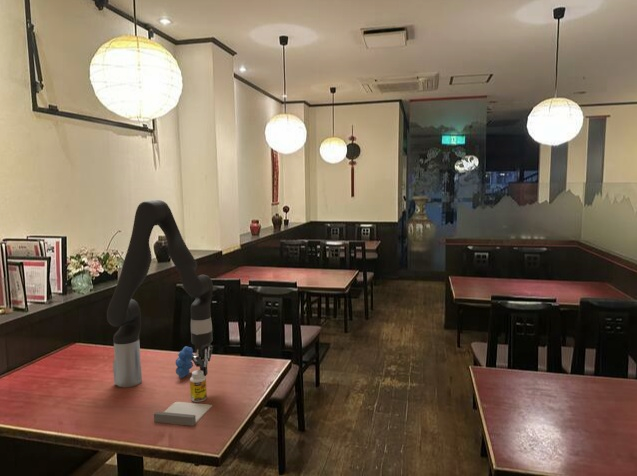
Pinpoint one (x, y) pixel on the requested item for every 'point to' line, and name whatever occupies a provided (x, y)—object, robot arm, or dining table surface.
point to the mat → (182, 413)
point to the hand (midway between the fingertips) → (203, 375)
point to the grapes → (184, 361)
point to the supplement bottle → (198, 386)
